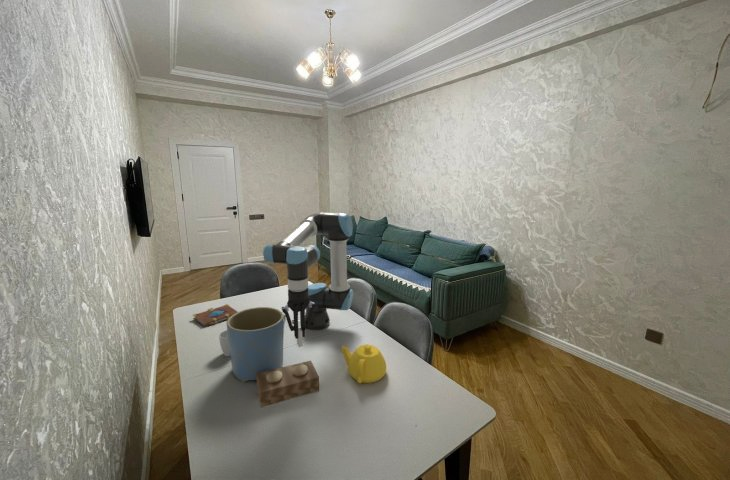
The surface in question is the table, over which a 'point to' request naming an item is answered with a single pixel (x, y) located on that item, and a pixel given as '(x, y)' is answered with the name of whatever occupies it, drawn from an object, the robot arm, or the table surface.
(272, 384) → the socket block
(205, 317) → the book
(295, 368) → the peg
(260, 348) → the planter
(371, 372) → the teapot
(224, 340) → the cup
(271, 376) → the peg
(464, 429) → the table surface
